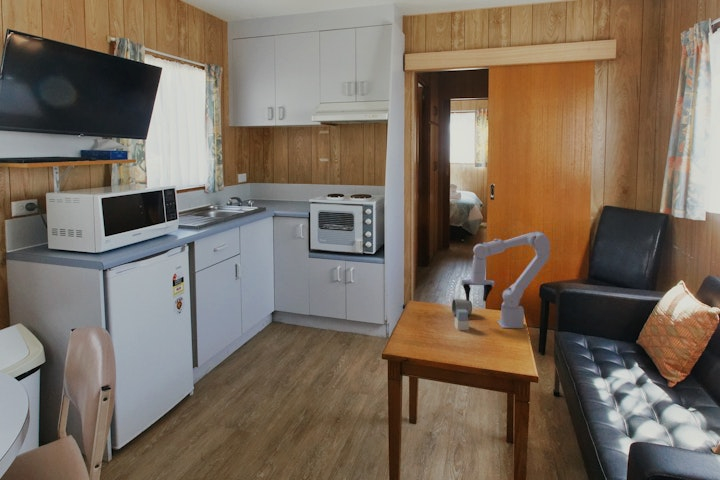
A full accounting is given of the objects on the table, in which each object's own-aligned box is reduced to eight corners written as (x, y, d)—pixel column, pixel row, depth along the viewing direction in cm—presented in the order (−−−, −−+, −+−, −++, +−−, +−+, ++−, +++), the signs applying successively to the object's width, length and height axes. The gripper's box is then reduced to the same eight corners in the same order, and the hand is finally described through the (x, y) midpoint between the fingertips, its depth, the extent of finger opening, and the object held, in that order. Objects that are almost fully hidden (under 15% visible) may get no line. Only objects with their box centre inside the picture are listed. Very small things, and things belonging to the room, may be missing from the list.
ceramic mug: (472, 317, 236) (473, 301, 235) (455, 317, 236) (456, 301, 234) (465, 310, 247) (466, 294, 245) (449, 310, 246) (450, 294, 245)
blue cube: (465, 317, 224) (465, 309, 223) (467, 321, 220) (467, 312, 220) (456, 317, 224) (456, 309, 223) (458, 321, 220) (458, 312, 219)
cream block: (465, 325, 226) (466, 317, 225) (468, 330, 221) (469, 321, 220) (454, 326, 225) (454, 317, 225) (457, 330, 221) (457, 321, 220)
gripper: (492, 269, 229) (489, 298, 232) (460, 268, 228) (457, 297, 231) (496, 273, 222) (494, 303, 225) (464, 272, 221) (461, 302, 224)
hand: (476, 300), depth 227 cm, fingers open, 7 cm apart
